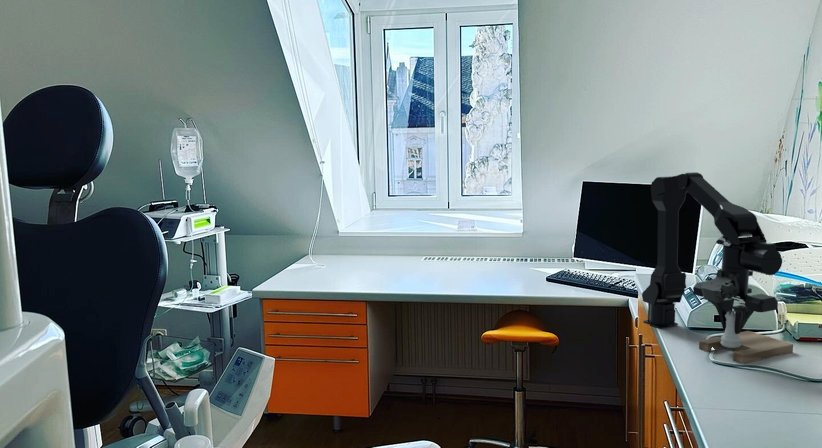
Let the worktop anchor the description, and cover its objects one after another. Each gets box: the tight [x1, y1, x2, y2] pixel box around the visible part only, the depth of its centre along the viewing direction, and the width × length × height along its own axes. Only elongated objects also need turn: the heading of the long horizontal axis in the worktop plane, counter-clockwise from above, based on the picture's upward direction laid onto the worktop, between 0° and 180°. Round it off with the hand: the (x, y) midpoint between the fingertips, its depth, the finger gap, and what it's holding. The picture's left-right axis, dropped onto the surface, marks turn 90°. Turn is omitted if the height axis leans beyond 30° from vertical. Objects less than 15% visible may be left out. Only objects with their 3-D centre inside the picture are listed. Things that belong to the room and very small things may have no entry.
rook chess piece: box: [720, 310, 741, 348], centre depth 159 cm, size 4×4×8 cm
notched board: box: [698, 330, 794, 365], centre depth 162 cm, size 12×17×2 cm
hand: (731, 331), depth 159 cm, fingers closed on rook chess piece, 3 cm apart
